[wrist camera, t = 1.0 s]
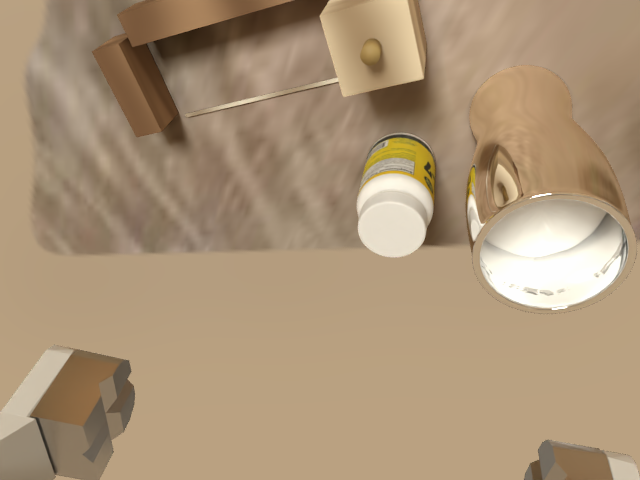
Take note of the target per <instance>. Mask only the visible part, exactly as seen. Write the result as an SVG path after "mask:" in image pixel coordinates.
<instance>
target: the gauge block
mask: <svg viewBox="0 0 640 480" xmlns="http://www.w3.org/2000/svg"><path fill="white" fill-rule="evenodd" d="M320 20H321V23H322V27H323V30H324V33H325V37H326V40H327V44H328V47H329V50H330V54H331V57H332V61H333V64H334V67H335V71H336V74H337V77H338V81H339V84H340V88H341V91H342V94H343V97H346V96H350V95H355V94H359V93H364V92H368V91H373V90H377V89H381V88H386V87H390V86H395V85H399V84H403V83H408V82H412V81H417V80H421V79H424V71H425V61H426V51H427V43H426V38H425V33H424V28H423V23H422V18H421V13H420V8H419V3H418V0H329V2H328V3H327V5H326V6H325V8H324V10H323V11H322V13H321V14H320Z"/></svg>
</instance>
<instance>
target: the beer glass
mask: <svg viewBox="0 0 640 480" xmlns="http://www.w3.org/2000/svg"><path fill="white" fill-rule="evenodd" d="M469 121H470V126H471V130H472V133H473V135H474V137H475V139H476V141H477V146H476V149H475V152H474V155H473V159H472V162H471V165H470V169H469V174H468V179H467V184H466V200H465V211H466V222H467V230H468V236H469V242H470V247H471V252H472V263H473V269H474V271H475V275H476V277H477V279H478V281H479V283H480V284H481V285H482V287H483V288H484V289H485V290H486V291H487V292H488V293H489V294H490V295H491V296H492V297H494V298H495V299H496V300H498V301H500V302H501V303H503V304H505V305H507V306H509V307H512V308H515V309H518V310H522V311H525V312H531V313H539V314H556V313H565V312H570V311H575V310H578V309H581V308H584V307H587V306H590V305H592V304H594V303H596V302H598V301H600V300H602V299H604V298H605V297H607V296H608V295H610V294H611V293H612V292H613V291H615V290H616V289H617V288H618V287H619V286H620V285H621V284H622V283H623V282H624V280H625V279H626V278H627V277H628V275H629V273H630V272H631V270H632V268H633V265H634V263H635V259H636V255H637V240H636V235H635V232H634V230H633V227H632V226H631V222H630V218H629V214H628V210H627V206H626V203H625V199H624V196H623V193H622V190H621V188H620V185H619V182H618V180H617V177H616V175H615V173H614V171H613V169H612V167H611V165H610V163H609V161H608V160H607V158H606V156H605V155H604V153H603V152H602V150H601V149H600V148H599V147H598V145H597V144H596V143H595V142H594V140H593V139H592V138H591V137H590V136H589V135H588V134H587V133H586V132H585V131H584V130H583V129H582V128H581V127H580V126H579V125H578V124H577V123H576V122H575V121H574V120H573V119H572V101H571V96H570V93H569V90H568V88H567V86H566V85H565V83H564V82H563V81H562V80H561V78H559V77H558V76H557V75H556V74H554V73H553V72H551V71H550V70H547V69H545V68H542V67H539V66H534V65H519V66H513V67H510V68H506V69H504V70H502V71H499V72H498V73H496V74H494V75H493V76H491V77H490V78H489V79H487V80H486V81H485V82H484V83H483V84H482V85H481V87H480V88H479V89H478V91H477V92H476V94H475V96H474V98H473V100H472V103H471V106H470V112H469Z"/></svg>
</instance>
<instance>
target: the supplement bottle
mask: <svg viewBox="0 0 640 480" xmlns="http://www.w3.org/2000/svg"><path fill="white" fill-rule="evenodd" d="M434 187H435V158H434V154H433V152H432V150H431V148H430V147H429V145H428V144H427V143H426V142H425V141H424V140H422V139H421V138H419V137H417V136H415V135H413V134H409V133H393V134H389V135H386V136H384V137H382V138H380V139H379V140H378V141H377V142H376V143H375V144H374V145H373V146H372V148H371V149H370V151H369V153H368V156H367V160H366V165H365V169H364V173H363V177H362V181H361V186H360V190H359V194H358V197H357V213H358V216H359V222H358V233H359V236H360V239H361V241H362V242H363V244H364V245H365V246H366V247H367V248H368V249H370V250H371V251H372V252H374V253H376V254H378V255H381V256H385V257H393V258H394V257H395V258H397V257H403V256H407V255H409V254H411V253H413V252H414V251H416V250H417V249H418V248H419V247H420V246H421V245H422V243H423V242H424V240H425V236H426V230H427V226H428V225H429V223H430V221H431V219H432V216H433V210H434Z"/></svg>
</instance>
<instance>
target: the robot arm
mask: <svg viewBox="0 0 640 480" xmlns="http://www.w3.org/2000/svg"><path fill="white" fill-rule="evenodd" d="M130 373H131V367H130V363H129V360H124V359H120V358H115V357H110V356H106V355H101V354H96V353H91V352H87V351H82V350H78V349H73V348H68V347H63V346H58V345H53V346H52V347H50V348H49V349H48V350H46V351H45V352H44V354H43V355H42V356H41V358H40V359H39V360H38V362H37V363H36V365H35V366H34V367H33V369H32V370H31V371H30V373H29V374H28V375H27V377H26V378H25V379H24V381H23V382H22V384H21V385H20V386H19V388H18V389H17V390H16V392H15V393H14V395H13V396H12V397H11V398H10V400H9V401H8V402H7V404H6V405H5V407H4V408H3V409H2V411H0V480H53V479H54V478H55V477H56V476H55V475H59V476H65V477H71V478H76V479H82V480H99V479H100V477H101V475H102V474H103V472H104V470H105V468H106V466H107V464H108V462H109V460H110V458H111V456H112V454H113V452H114V451H113V446H112V441H111V440H112V439H114V438H115V437H117V436H118V435H120V434H121V433H123V432H124V430H125V428H126V426H127V424H128V422H129V420H130V417H131V414H132V410H133V407H134V400H135V391H134V386H133V385H132V384H131V383H130V382H129V381H128V379H127V378H128V377H129V375H130ZM538 453H539V460H537V461H535V462H532V463H531V464H530V465H529V467H528V469H527V471H526V473H525V478H524V480H640V475H639V472H638V469H637V466H636V462H635V461H634V460H633V458H632V457H631V456H629V455H626V454H620V453H615V452H609V451H603V450H600V449H597V448H592V447H586V446H580V445H575V444H569V443H563V442H558V441H552V440H546V441H544V442H542V444H541V446H540V447H539V449H538Z"/></svg>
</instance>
